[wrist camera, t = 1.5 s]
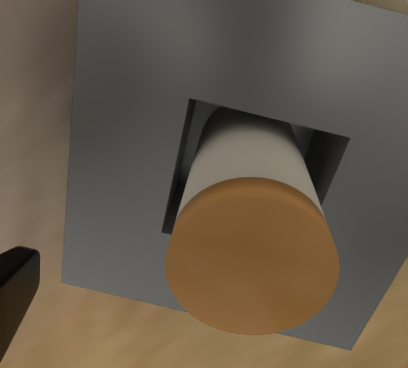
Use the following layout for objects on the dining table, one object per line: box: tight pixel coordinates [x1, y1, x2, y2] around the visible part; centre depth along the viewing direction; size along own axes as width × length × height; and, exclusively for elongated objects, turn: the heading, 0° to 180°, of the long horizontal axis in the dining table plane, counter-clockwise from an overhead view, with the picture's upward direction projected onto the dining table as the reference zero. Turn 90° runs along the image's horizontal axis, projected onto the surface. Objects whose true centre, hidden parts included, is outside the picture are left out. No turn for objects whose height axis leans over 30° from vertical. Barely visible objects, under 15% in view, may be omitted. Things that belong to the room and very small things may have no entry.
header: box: [61, 0, 408, 350], centre depth 15 cm, size 12×12×5 cm
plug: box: [165, 106, 340, 335], centre depth 12 cm, size 4×4×8 cm
